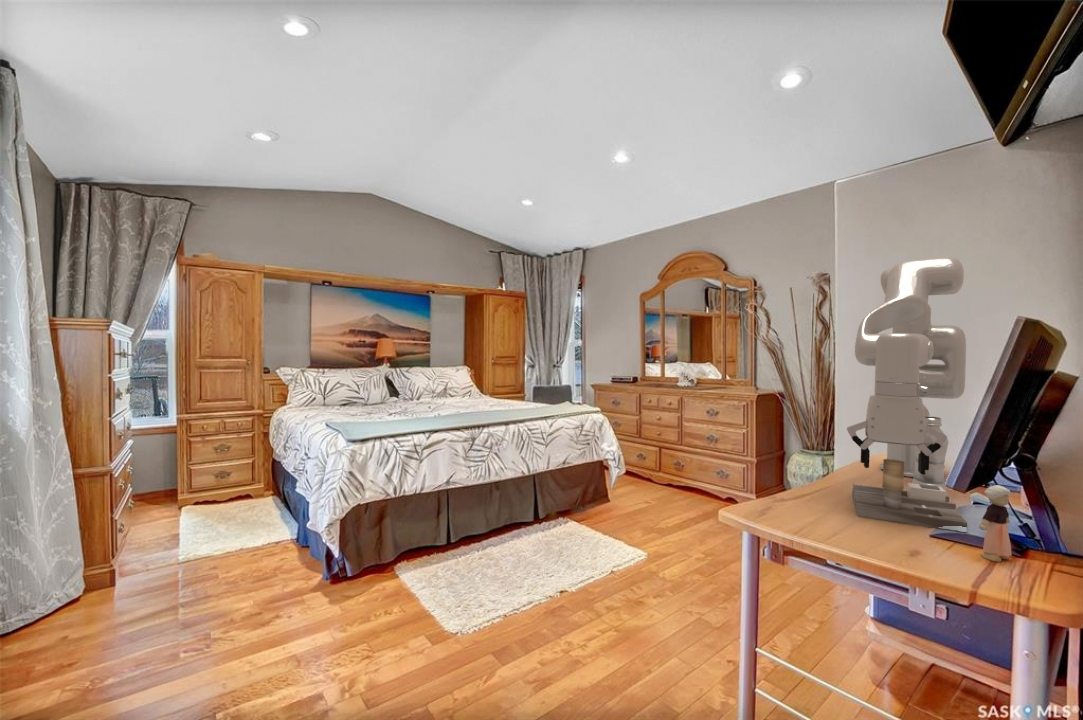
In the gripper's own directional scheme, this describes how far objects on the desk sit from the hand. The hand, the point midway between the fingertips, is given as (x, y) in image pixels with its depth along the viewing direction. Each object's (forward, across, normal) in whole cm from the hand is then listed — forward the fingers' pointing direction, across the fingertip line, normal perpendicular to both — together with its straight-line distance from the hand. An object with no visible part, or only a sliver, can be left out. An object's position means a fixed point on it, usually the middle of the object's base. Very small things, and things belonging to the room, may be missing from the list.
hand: (893, 469), depth 102 cm
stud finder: (+8, -7, -8) cm, 13 cm away
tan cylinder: (+8, 0, -1) cm, 8 cm away
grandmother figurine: (+11, -13, +14) cm, 22 cm away
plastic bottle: (+10, -9, -17) cm, 22 cm away
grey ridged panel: (+10, -3, -5) cm, 11 cm away
